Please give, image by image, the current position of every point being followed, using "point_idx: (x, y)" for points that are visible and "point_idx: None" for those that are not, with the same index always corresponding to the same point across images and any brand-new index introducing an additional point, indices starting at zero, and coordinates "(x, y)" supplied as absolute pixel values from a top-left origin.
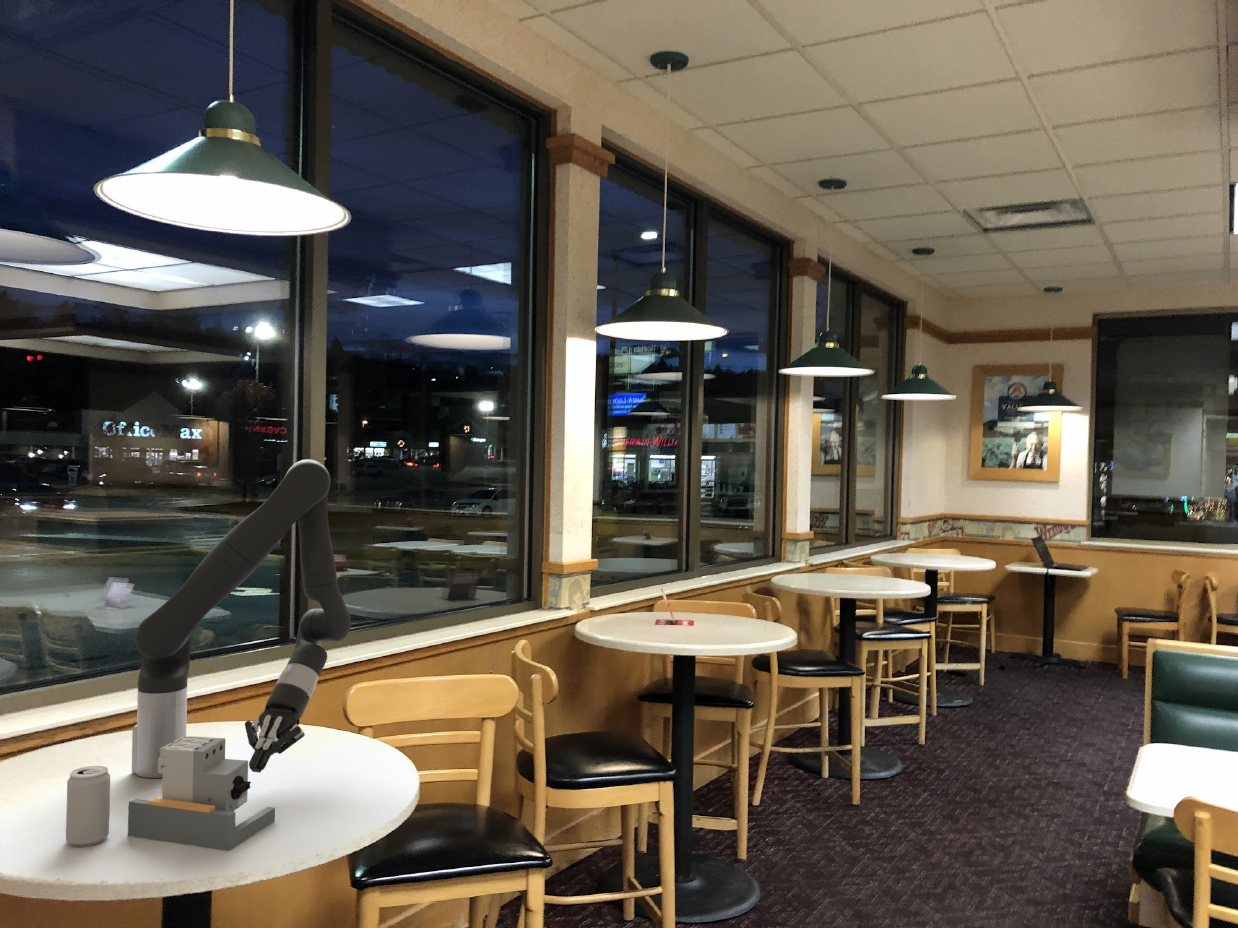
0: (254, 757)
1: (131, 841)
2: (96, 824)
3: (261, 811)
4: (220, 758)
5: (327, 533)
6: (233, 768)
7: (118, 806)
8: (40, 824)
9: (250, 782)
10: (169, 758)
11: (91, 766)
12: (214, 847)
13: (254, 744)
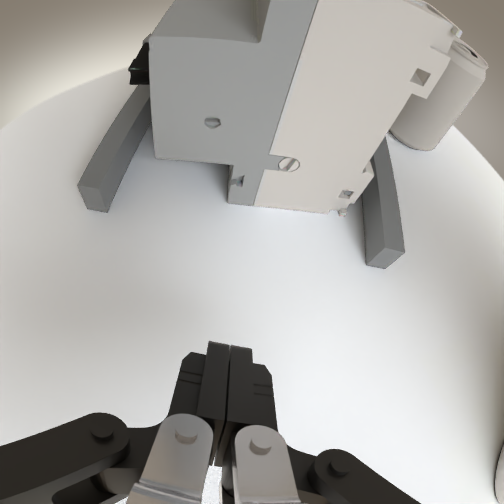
0: (247, 383)
1: None
2: None
3: (109, 160)
4: (261, 19)
5: None
6: (179, 5)
7: (481, 263)
8: (494, 190)
9: (129, 69)
10: None
11: (484, 65)
12: None
13: (309, 465)
